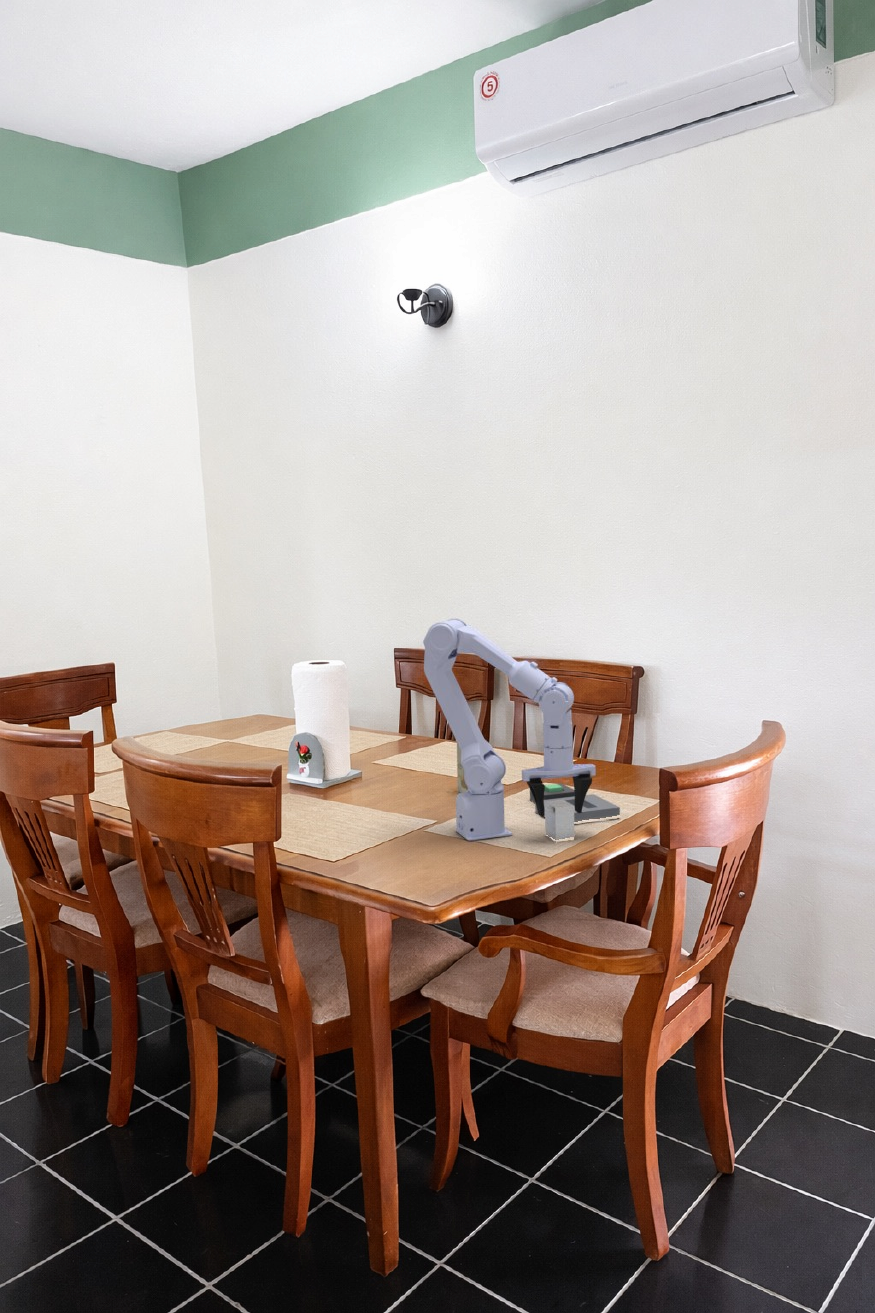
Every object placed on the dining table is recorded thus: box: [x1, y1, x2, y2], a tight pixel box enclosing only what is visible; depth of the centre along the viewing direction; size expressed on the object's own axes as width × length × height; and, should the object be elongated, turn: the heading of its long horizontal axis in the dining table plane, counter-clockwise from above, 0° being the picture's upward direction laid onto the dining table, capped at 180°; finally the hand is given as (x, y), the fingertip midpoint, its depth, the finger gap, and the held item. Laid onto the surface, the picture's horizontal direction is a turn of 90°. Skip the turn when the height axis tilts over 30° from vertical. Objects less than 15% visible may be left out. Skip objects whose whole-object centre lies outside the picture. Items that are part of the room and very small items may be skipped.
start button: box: [544, 783, 563, 792], centre depth 223 cm, size 3×3×2 cm
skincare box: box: [456, 742, 468, 793], centre depth 234 cm, size 6×4×12 cm
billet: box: [544, 800, 576, 840], centre depth 197 cm, size 4×5×7 cm
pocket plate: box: [534, 793, 621, 822], centre depth 212 cm, size 14×12×2 cm
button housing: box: [529, 783, 575, 803], centre depth 224 cm, size 8×8×3 cm
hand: (559, 813), depth 196 cm, fingers open, 7 cm apart
